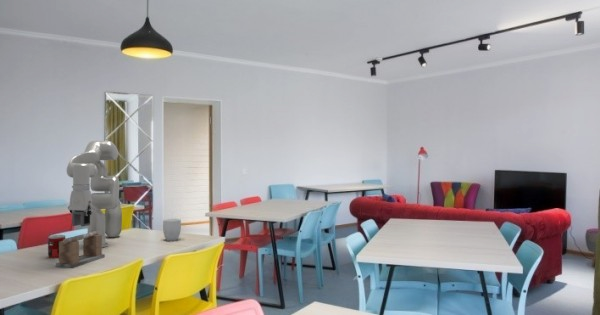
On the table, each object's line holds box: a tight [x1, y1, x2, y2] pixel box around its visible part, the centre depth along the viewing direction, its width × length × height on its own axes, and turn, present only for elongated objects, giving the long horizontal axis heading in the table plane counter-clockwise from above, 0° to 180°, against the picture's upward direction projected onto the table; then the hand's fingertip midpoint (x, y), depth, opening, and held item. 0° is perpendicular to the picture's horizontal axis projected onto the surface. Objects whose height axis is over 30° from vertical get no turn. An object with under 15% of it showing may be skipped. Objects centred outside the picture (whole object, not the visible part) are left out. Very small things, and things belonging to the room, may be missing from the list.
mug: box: [162, 217, 182, 242], centre depth 270 cm, size 15×11×13 cm
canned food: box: [47, 234, 66, 259], centre depth 223 cm, size 8×8×11 cm
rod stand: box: [55, 231, 106, 269], centre depth 214 cm, size 10×22×14 cm, turn 166°
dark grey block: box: [71, 211, 90, 227], centre depth 213 cm, size 6×5×7 cm
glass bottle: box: [104, 199, 123, 238], centre depth 275 cm, size 10×10×28 cm
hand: (81, 222), depth 213 cm, fingers closed on dark grey block, 6 cm apart
